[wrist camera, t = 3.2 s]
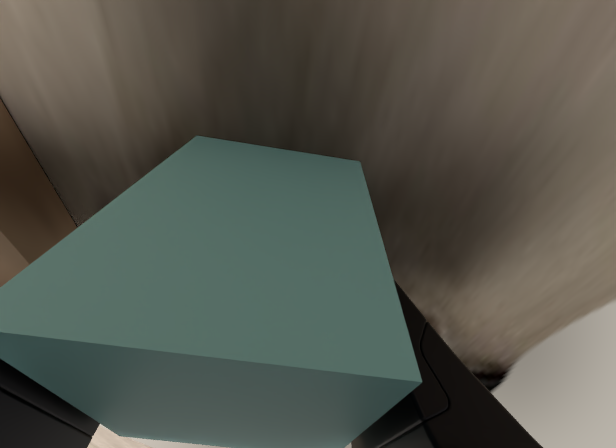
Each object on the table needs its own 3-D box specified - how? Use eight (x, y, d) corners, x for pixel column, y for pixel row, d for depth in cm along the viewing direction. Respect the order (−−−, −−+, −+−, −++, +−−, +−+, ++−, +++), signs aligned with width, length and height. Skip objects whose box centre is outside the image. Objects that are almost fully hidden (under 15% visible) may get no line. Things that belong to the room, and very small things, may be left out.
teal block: (328, 268, 10) (332, 458, 6) (213, 252, 10) (120, 435, 6) (360, 161, 7) (422, 381, 3) (196, 135, 7) (-51, 326, 2)
